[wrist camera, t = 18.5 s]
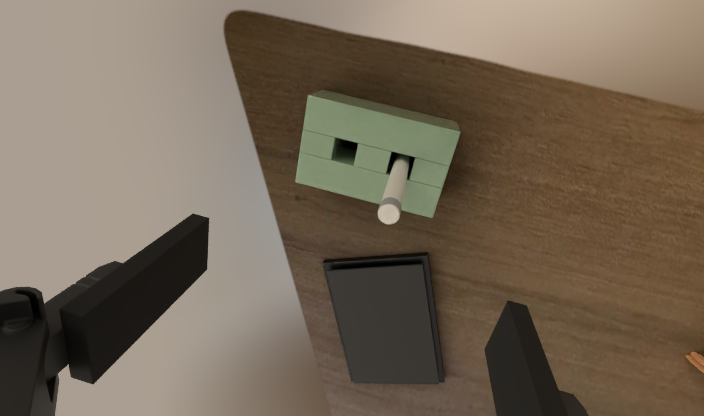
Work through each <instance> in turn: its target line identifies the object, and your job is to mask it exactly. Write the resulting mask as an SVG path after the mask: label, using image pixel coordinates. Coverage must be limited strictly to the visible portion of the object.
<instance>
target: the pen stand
mask: <svg viewBox="0 0 704 416" xmlns="http://www.w3.org/2000/svg"><path fill="white" fill-rule="evenodd" d="M460 133H461V132H460V129H459V127H458V124H457V122H456V121H452V120H448V119H444V118H439V117H435V116H431V115H427V114H423V113H418V112H414V111H410V110H406V109H402V108H398V107H393V106H389V105H385V104H381V103H377V102H372V101H368V100H364V99H360V98H356V97H352V96H347V95H343V94H339V93H335V92H331V91H326V90H321V91H319V92H316V93H313V94H311V95H308V98H307V105H306V112H305V119H304V126H303V132H302V139H301V146H300V153H299V160H298V166H297V173H296V180H295V182H297V183H301V184H305V185H308V186H312V187H316V188H320V189H323V190H327V191H331V192H335V193H339V194H342V195H346V196H350V197H354V198H357V199H361V200H365V201H369V202H373V203H376V204H380V203H381V201H382V198H383V195H384V192H385V189H386V186H387V183H388V180H389V176H390V173H391V170H392V167H393V164H394V161H395V160H391V158H392V154H393V152H396V153H399V154H403V155H407V156H411V157H414V158H413V161H412V165H410V164H409V169H408V174H407V179H406V185H405V190H404V196H403V201H402V206H401V210H403V211H407V212H410V213H414V214H418V215H422V216H425V217H429V218H433V216H434V213H435V210H436V206H437V203H438V200H439V197H440V194H441V191H442V188H443V185H444V182H445V179H446V176H447V173H448V170H449V166H450V164H451V161H452V158H453V155H454V152H455V148H456V145H457V142H458V139H459V136H460ZM344 140H348V141H352V142H356V143H359V144H358V147H357V151H355V150H351V149H347V148H343V143H344Z"/></svg>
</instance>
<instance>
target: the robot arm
mask: <svg viewBox="0 0 704 416" xmlns="http://www.w3.org/2000/svg"><path fill="white" fill-rule="evenodd" d="M208 232H209V218H207V217H203V216H200V215H196V214H192V215H190V216H189V217H187V218H186V219H185V220H183V221H182V222H180V223H179V224H178V225H176V226H175V227H173V228H172V229H171V230H169V231H168V232H166V233H165V234H164V235H163V236H161V237H160V238H158V239H157V240H155V241H154V242H153V243H151V244H150V245H148V246H147V247H145V248H144V249H143V250H142V251H140V252H138V253H137V254H136V255H134V256H133V257H131V258H130V259H129V260H127V261H126V262H124V263H119V262H116V261H114V262H111V263H108V264H106V265H103V266H100V267H98V268H97V269H95V270H94V271H92V272H91V273H89V274H88V275H86V277H84V278H82V279H80V280H79V281H77V282H76V284H73V285H71V286H70V287H68V288H67V289H65V290H64V291H62V292H61V293H60V294H58V295H56V296H55V297H53V298H52V299H50V300H49V301H47V302H46V303H45V304H44V302H43V297H42V292H40V291H39V290H37V289H36V288H31V287H16V288H11V289H6V290H3V291H1V292H0V416H55V409H56V401H57V393H58V385H59V378H58V373H59V372H60V371H61V370H62V369H63V368H65V367H66V366H67V365H68V364H69V369H70V374H71V377H72V378H75V379H78V380H81V381H84V382H87V383H90V384H94V383H95V382H96V381H97V380H98V379H99V378H100V377H101V376H102V375H103V374H104V373H105V372H106V371H107V370H108V369H109V368H110V367H111V366H112V365H113V364H114V363H115V362H116V361H117V360H118V359H119V357H121V356H122V355H123V354H124V353H125V352H126V351H127V350H128V349H129V348H130V346H132V345H133V344H134V342H136V341H137V340H138V339H139V338H140V337H141V335H142V334H143V333H144V332H145V331H146V330H147V329H148V328H149V327H150V326H151V325H152V324H153V323H154V322H155V321H156V320H157V319H158V318H159V317H160V316H161V315H162V314H163V313H164V312H165V311H166V310H167V309H168V308H169V307H170V306H171V305H172V304H173V303H174V302H175V301H176V300H177V299H178V298H179V297H180V296H181V295H182V294H183V293H184V292H185V291H186V290H187V289H188V288H189V287H190V286H191V285H192V284H193V283H194V282H195V281H196V280H197V279H198V278H199V277H200V276H201V275H202V274H203V273H204V272H205V271H206V270H207V258H208ZM485 354H486V360H487V365H488V371H489V376H490V381H491V387H492V392H493V398H494V403H495V409H496V414H497V416H588V414H587V412H586V410H585V409H584V407H583V406H582V405H581V403H580V402H579V401H578V400H577V398H576V397H575V396H574V395H573V394H570V393H566V392H563V391H560V390H558V388H557V385H556V382H555V380H554V377H553V374H552V372H551V369H550V366H549V364H548V361H547V358H546V356H545V353H544V350H543V348H542V345H541V342H540V340H539V337H538V334H537V332H536V329H535V326H534V324H533V321H532V318H531V316H530V313H529V310H528V308H527V306H526V305H523V304H519V303H515V302H512V301H507V303H506V305H505V308H504V310H503V312H502V314H501V316H500V318H499V320H498V322H497V324H496V326H495V329H494V331H493V333H492V335H491V337H490V339H489V341H488V343H487V345H486V348H485Z"/></svg>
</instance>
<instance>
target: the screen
mask: <svg viewBox="0 0 704 416" xmlns="http://www.w3.org/2000/svg"><path fill="white" fill-rule="evenodd" d="M327 275H328V279H329V284H330V288H331V292H332V296H333V300H334V304H335V308H336V312H337V316H338V320H339V324H340V328H341V332H342V337H343V341H344V345H345V349H346V353H347V357H348V361H349V365H350V369H351V373H352V377H353V381H354V383H382V384H439V377H438V370H437V363H436V356H435V349H434V342H433V335H432V327H431V320H430V313H429V306H428V299H427V292H426V285H425V278H424V270H423V264H412V265H397V266H382V267H367V268H352V269H337V270H327Z"/></svg>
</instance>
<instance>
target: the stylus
mask: <svg viewBox="0 0 704 416" xmlns="http://www.w3.org/2000/svg"><path fill="white" fill-rule="evenodd" d="M410 158H411V156H407V155H403V154H399V153H397V155H396V158H395V161H394V164H393V167H392V170H391V173H390V176H389V180H388V183H387V186H386V189H385V192H384V195H383V198H382V201H381V203H380V206H379V209H378V217H379V219H380V220H381V221H382V222H383V223H385V224H394V223H396V222H397V221H398V220H399V218H400V214H401V206H402V201H403V196H404V190H405V185H406V179H407V174H408V169H409V163H410Z"/></svg>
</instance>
